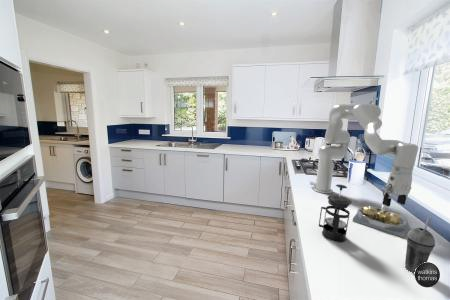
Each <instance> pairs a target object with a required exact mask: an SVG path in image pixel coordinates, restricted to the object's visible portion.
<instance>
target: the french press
mask: <svg viewBox="0 0 450 300" xmlns="http://www.w3.org/2000/svg"><path fill="white" fill-rule="evenodd" d="M335 187H336V188H339V195H334V194H333V195H332V194H331V195H328V196H327V200H328V201H327V203H328V204H329V205H327V206H326V207H325V206H321V207H320V214H319V219H318V221H319V222H318V227H320V228H321V229H322V231H321V234H322V236H323V238H326V239H327V240H329V241H331V242H335V243H344V242H346V240H347V231H348V225H349V218H350V211H349V210H348V209H347V208H348V207H349V206H350V205H351V204H352V200H351V199H349V198H347V197H344V196H342V195H341V194H342V191H343V189H348V187H347V186H346V185H345V184H335ZM330 209H331V210H333V209H334V212H332V211H330ZM322 210H325V212H324V220H323V224H321V219H322ZM340 211H342V212H343V213H346V214H340ZM327 214H328V215H329V216H332V217H326V215H327ZM342 219H347V220H346V222H345V221H343V220H342Z"/></svg>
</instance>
